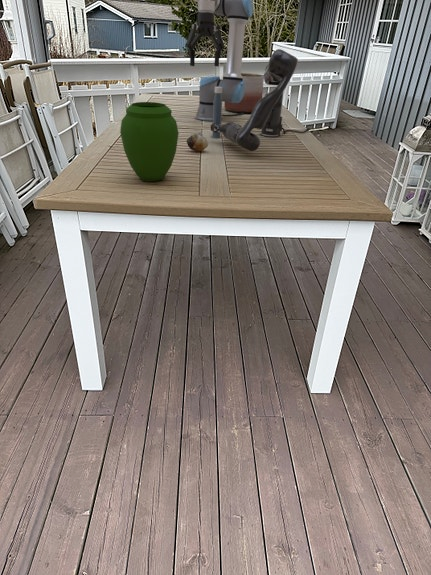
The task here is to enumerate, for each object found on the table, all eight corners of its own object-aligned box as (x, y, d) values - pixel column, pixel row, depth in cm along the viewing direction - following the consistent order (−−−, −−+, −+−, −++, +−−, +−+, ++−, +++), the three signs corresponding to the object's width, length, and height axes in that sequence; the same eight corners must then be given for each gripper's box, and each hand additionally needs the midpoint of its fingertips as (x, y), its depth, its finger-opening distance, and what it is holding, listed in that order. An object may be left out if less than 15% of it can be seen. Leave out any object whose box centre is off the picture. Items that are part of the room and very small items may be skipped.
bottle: (212, 137, 207) (214, 88, 195) (212, 136, 210) (214, 87, 198) (220, 138, 207) (222, 88, 195) (220, 136, 210) (222, 87, 198)
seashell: (207, 149, 185) (207, 131, 181) (208, 152, 180) (209, 134, 176) (186, 149, 184) (186, 130, 179) (187, 152, 179) (187, 133, 175)
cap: (214, 93, 196) (214, 87, 195) (214, 92, 199) (214, 86, 198) (222, 93, 196) (222, 87, 195) (222, 92, 199) (222, 86, 198)
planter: (265, 114, 273) (268, 77, 261) (227, 113, 269) (230, 75, 257) (255, 107, 294) (258, 73, 282) (221, 107, 290) (222, 72, 278)
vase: (131, 189, 135) (125, 110, 122) (118, 172, 150) (112, 100, 137) (186, 184, 142) (187, 109, 129) (169, 168, 157) (167, 99, 144)
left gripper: (224, 14, 191) (222, 65, 202) (177, 10, 179) (177, 65, 190) (233, 14, 186) (230, 66, 197) (186, 10, 174) (185, 66, 185)
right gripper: (248, 123, 188) (234, 116, 201) (219, 124, 184) (207, 117, 196) (246, 140, 192) (233, 132, 205) (218, 141, 188) (206, 133, 200)
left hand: (204, 66), depth 194 cm, fingers open, 13 cm apart
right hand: (220, 125), depth 201 cm, fingers open, 8 cm apart
